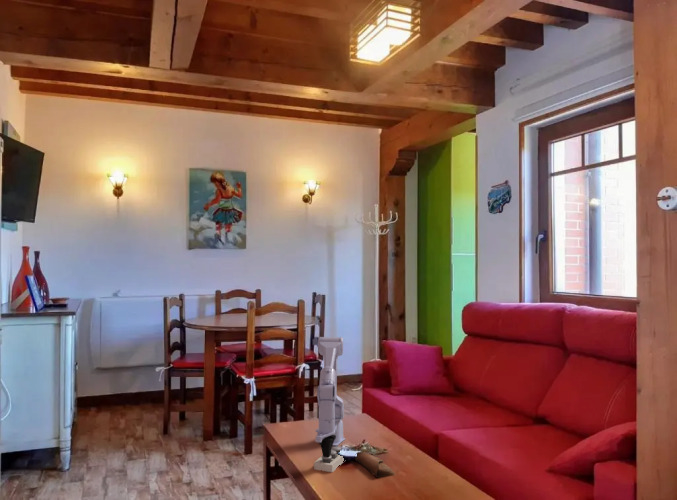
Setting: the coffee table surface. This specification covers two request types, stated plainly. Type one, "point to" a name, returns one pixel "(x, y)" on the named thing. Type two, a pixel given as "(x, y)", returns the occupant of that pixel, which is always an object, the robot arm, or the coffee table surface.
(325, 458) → the knob
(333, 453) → the knob middle
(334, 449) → the knob
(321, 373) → the robot arm
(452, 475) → the coffee table surface
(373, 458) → the sunglasses case
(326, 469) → the knob board
